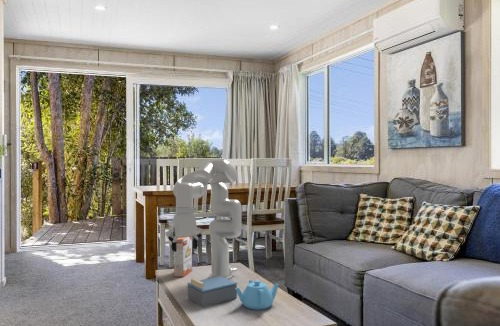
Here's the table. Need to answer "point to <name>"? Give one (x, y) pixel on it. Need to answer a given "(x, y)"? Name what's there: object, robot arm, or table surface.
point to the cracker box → (183, 257)
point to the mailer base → (212, 295)
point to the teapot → (257, 295)
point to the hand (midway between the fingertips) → (184, 250)
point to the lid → (211, 283)
